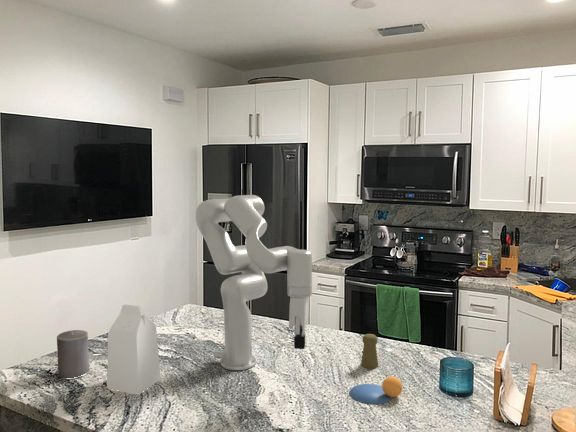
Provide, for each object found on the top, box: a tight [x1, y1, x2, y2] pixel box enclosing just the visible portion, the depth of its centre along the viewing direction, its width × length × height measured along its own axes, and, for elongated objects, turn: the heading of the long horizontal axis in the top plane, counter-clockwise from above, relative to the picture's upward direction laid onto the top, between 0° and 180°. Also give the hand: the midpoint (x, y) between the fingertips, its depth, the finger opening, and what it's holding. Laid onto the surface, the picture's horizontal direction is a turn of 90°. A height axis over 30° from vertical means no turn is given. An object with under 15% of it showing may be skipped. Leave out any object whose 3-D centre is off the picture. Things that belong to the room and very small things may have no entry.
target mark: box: [349, 383, 393, 405], centre depth 151 cm, size 13×13×1 cm
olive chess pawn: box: [360, 333, 379, 370], centre depth 172 cm, size 6×6×11 cm
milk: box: [106, 303, 162, 395], centre depth 157 cm, size 12×12×26 cm
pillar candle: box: [56, 329, 90, 379], centre depth 166 cm, size 10×10×15 cm
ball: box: [381, 375, 403, 398], centre depth 149 cm, size 6×6×6 cm
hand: (299, 347), depth 153 cm, fingers closed
